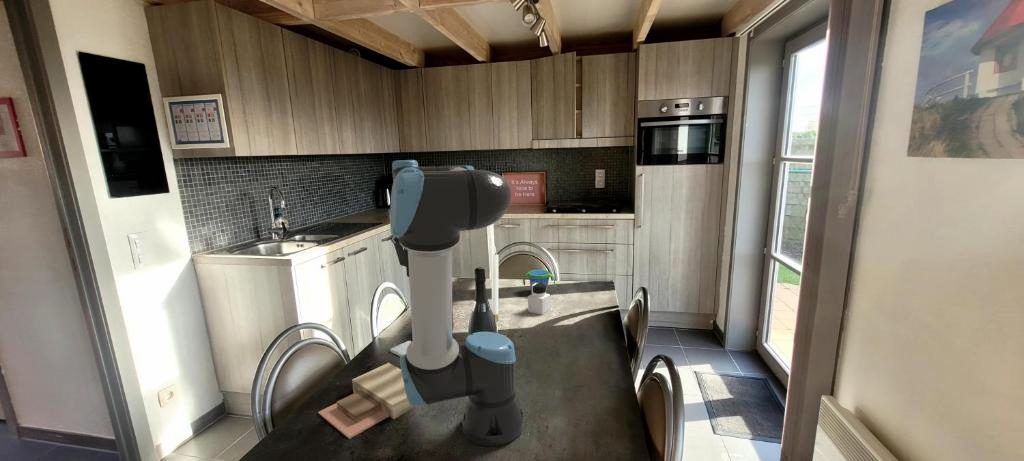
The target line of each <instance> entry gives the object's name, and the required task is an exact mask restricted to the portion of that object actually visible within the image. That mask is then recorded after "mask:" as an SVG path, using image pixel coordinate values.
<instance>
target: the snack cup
mask: <svg viewBox="0 0 1024 461" xmlns="http://www.w3.org/2000/svg"><path fill="white" fill-rule="evenodd" d="M526 276H528V278H529V284H530V285H529V286H530V292H531V293H532V285H533V284H535V283H543V284H545V285H546V293H547V292H548V287H549V280H550V277H551V279H552V280H553V288H555V286H556V278H555V276H554V275H553V274H552V273H550V271H549V270H544V269H531V270H530V271H528V272H526V273H525V274H524V276H523V277H522V278H523V279H522V283H523V284H522V285H523V286H526V279H525V278H526ZM547 294H548V293H547Z"/></svg>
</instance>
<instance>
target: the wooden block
mask: <svg viewBox="0 0 1024 461" xmlns="http://www.w3.org/2000/svg"><path fill="white" fill-rule="evenodd" d="M336 403H337V409H338V410H340V411H341V412H342V413H344V414H345V415H346V416H348V417H349V418H350V419H352V420H353V421H354V422H355V423H359V422H360V421H362V420H364V419H366V418H368V417H370V416H371V415H373V414H375V413H377V412H379V411H381V403H380V402H378V401H377V400H375V399H374V398H372V397H370V396H369V395H367V394H366V393H364V392H363V391H361V390H360V391H358V392H356V393H354V392H353V393H352V394H350V395H348V396H346V397H344V398H342V399H340V400H337V401H336Z"/></svg>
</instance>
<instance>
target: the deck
mask: <svg viewBox="0 0 1024 461" xmlns="http://www.w3.org/2000/svg"><path fill="white" fill-rule="evenodd" d="M351 381H352V382H351V383H352V391H353V394H354V393H356V392H358V391H360V390H361V391H363V392H364V393H366V394H367V395H369V396H370V397H372V398H374V399H375V400H377V401H378V402H380V403H381V410H383V411H384V412H386V413H387V414H389V417H388V418H391V419H393V420H396V419H397V418H399V417H400V416H401V415H404V414H405V413H407V412H409V411H410V410H413V409H414V408H415V407H413V406H411V405H410V404H409V402H408V399H407V396H406V392H405V387H404V382H403V377H402V372H401V368H399V367H398V366H395V365H394V364H391V363H390V362H387V363H386V364H382V365H381V366H378V367H377V368H374V369H372V370H370V371H368V372H366V373H364V374H362V375H359V376H357V377H355V378H352V379H351Z"/></svg>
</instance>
